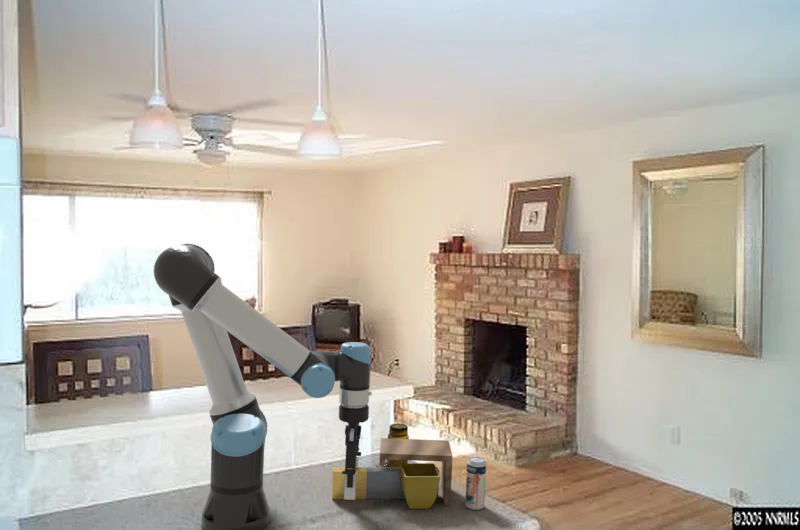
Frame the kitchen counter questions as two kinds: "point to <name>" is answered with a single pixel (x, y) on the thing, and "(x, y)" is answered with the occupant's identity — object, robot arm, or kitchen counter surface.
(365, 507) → the kitchen counter surface
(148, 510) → the kitchen counter surface
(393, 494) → the two-tone wooden bar
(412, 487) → the flower pot
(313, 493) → the kitchen counter surface
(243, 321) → the robot arm
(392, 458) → the small brown wooden table
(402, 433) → the condiment
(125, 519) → the kitchen counter surface
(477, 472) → the beer can
